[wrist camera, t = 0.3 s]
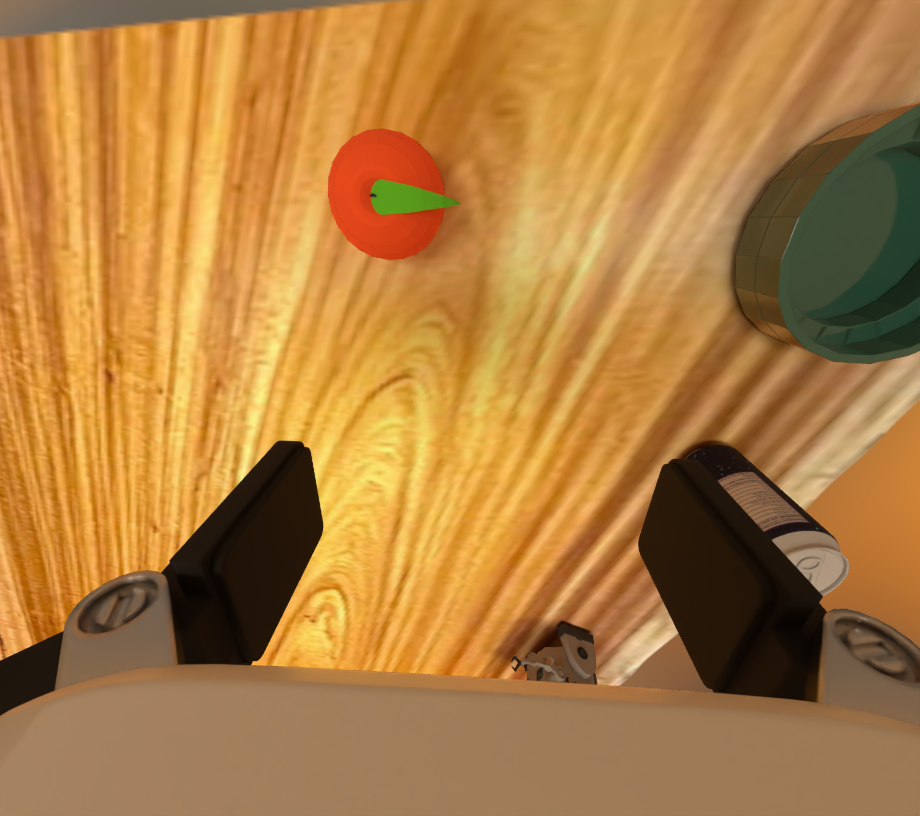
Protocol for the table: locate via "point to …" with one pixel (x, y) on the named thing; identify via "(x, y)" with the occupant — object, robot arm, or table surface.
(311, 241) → the table surface
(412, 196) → the clementine
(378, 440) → the table surface
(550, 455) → the table surface
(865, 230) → the bowl
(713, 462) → the beverage can
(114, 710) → the robot arm
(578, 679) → the figurine
